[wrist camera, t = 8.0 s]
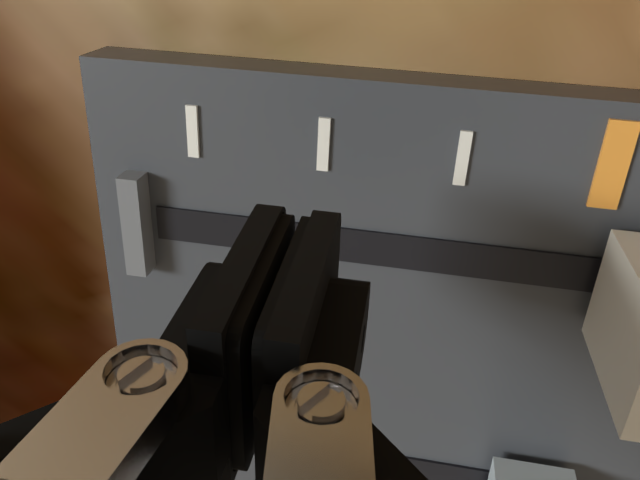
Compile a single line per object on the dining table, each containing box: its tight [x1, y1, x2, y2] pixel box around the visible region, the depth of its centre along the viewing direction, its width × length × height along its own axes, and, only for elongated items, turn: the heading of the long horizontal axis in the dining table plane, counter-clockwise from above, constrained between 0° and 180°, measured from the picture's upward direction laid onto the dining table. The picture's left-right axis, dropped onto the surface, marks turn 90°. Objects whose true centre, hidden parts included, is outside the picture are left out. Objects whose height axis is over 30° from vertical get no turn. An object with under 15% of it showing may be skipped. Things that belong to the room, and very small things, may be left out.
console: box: [79, 46, 640, 480], centre depth 18 cm, size 16×20×2 cm
